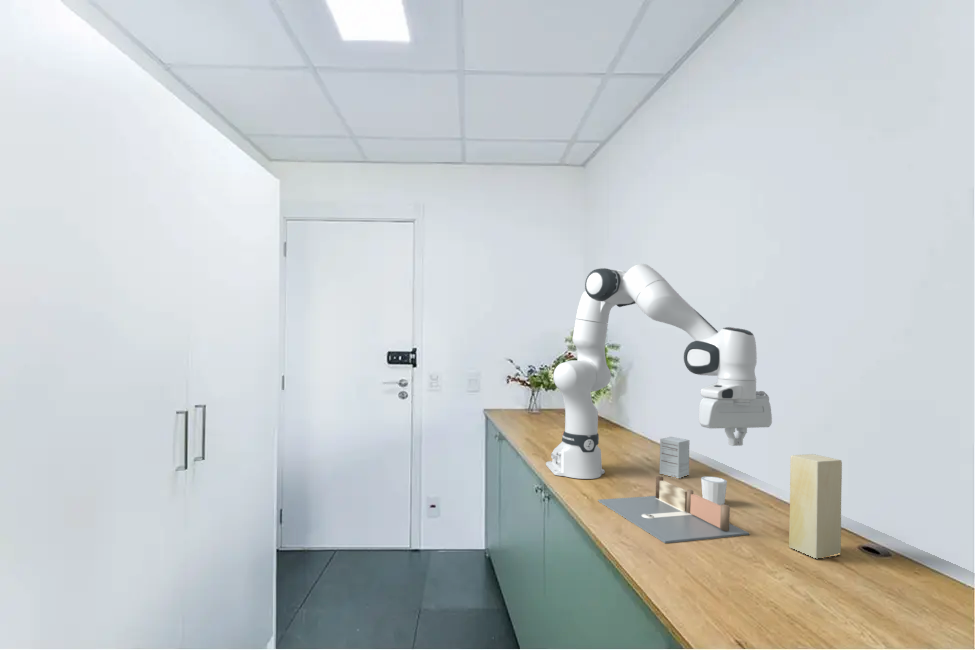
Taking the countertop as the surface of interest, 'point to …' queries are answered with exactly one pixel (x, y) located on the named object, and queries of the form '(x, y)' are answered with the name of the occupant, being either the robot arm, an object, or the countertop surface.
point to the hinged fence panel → (708, 510)
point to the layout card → (667, 520)
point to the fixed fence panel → (671, 494)
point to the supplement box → (674, 457)
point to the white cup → (714, 489)
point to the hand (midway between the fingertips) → (735, 445)
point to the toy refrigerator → (815, 505)
